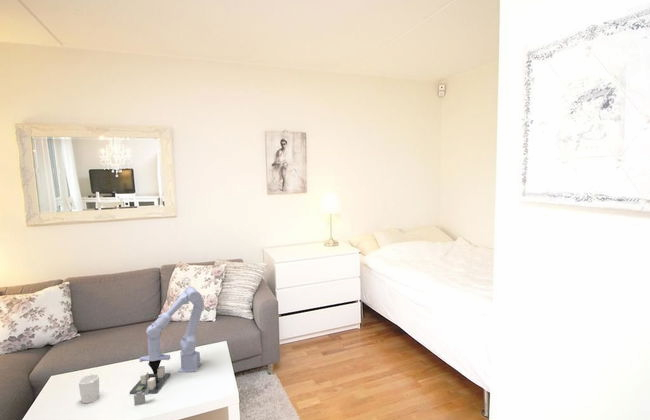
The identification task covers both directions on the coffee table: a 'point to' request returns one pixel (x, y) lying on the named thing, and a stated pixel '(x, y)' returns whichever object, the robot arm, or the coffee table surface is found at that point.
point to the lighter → (141, 396)
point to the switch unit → (142, 387)
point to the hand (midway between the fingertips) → (156, 373)
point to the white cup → (89, 388)
